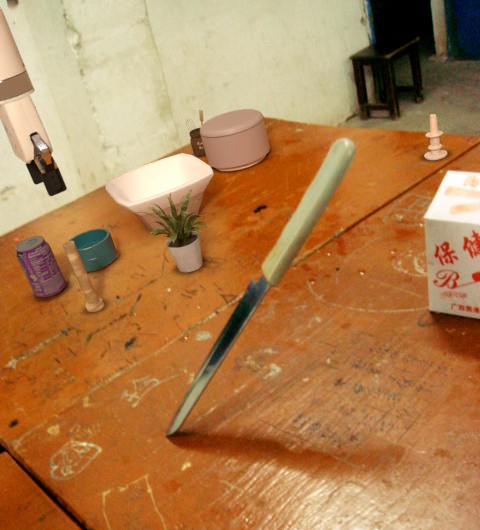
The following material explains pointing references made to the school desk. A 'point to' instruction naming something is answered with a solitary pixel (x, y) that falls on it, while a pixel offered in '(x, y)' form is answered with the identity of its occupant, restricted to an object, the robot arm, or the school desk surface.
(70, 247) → the muddler
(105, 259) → the mixing bowl
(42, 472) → the school desk surface
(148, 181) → the bowl
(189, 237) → the house plant
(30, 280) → the beverage can
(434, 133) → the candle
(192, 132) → the utensil holder
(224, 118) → the container
